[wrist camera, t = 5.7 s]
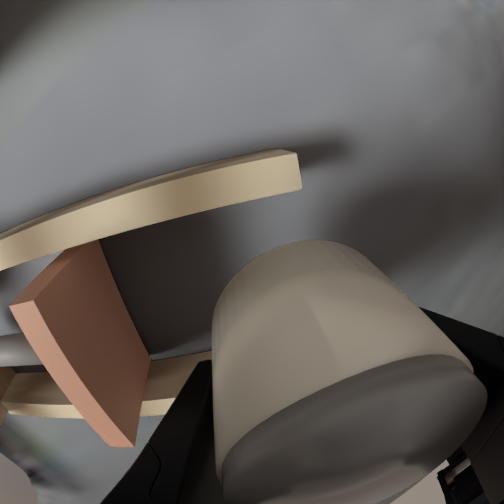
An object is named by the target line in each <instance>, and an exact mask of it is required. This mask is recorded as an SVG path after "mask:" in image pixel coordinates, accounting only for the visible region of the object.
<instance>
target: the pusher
mask: <svg viewBox="0 0 504 504" xmlns="http://www.w3.org/2000/svg"><path fill="white" fill-rule="evenodd" d="M9 308H10V309H11V311H12V313H13V315H14V317H15V319H16V321H17V322H18V324H19V326H20V328H21V330H22V331H23V333H17V334H10V335H4V336H0V367H4V366H25V365H41V364H43V365H44V366H45V368H46V369H47V371H48V372H49V374H50V375H51V376H52V378H53V379H54V381H55V382H56V383H57V385H58V386H59V387H60V389H61V390H62V391H63V393H64V394H65V395H66V397H67V398H68V399H69V400H70V402H71V403H72V404H73V405H74V407H75V408H76V409H77V410H78V411H79V413H80V414H81V415H82V416H83V417H84V419H85V420H86V421H87V422H88V423H89V424H90V425H91V427H92V428H93V429H94V430H95V431H96V432H97V433H98V434H99V435H100V436H101V437H102V439H103V440H104V441H105V442H106V443H107V444H108V445H109V446H110V447H135V441H136V435H137V429H138V423H139V417H140V412H141V406H142V401H143V395H144V390H145V385H146V380H147V375H148V371H149V366H150V361H151V358H150V356H149V354H148V352H147V350H146V348H145V346H144V344H143V342H142V340H141V338H140V336H139V334H138V332H137V330H136V328H135V326H134V324H133V322H132V320H131V318H130V315H129V313H128V311H127V309H126V307H125V304H124V302H123V300H122V298H121V295H120V293H119V291H118V288H117V286H116V284H115V281H114V279H113V276H112V274H111V271H110V269H109V266H108V264H107V261H106V258H105V256H104V253H103V251H102V248H101V245H100V242H99V240H98V239H97V240H94V241H91V242H87V243H84V244H81V245H77V246H74V247H71V248H68V249H65V250H64V251H63V252H62V253H61V254H60V255H59V256H58V257H57V258H56V259H55V260H54V261H53V262H51V263H50V264H49V265H48V266H47V267H46V268H45V269H44V270H43V271H42V272H41V273H40V274H39V275H38V276H37V277H36V278H35V279H34V280H33V281H32V282H31V283H30V284H29V285H28V286H27V287H26V288H25V289H24V290H23V291H22V293H21V294H20V295H19V296H18V297H17V298H16V299H15V300H14V301H13V302H12V303H11V304H10V305H9Z"/></svg>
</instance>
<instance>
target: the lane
mask: <svg viewBox="0 0 504 504" xmlns="http://www.w3.org/2000/svg"><path fill="white" fill-rule="evenodd" d="M297 190H302V182H301V176H300V170H299V164H298V158H297V153H294V152H290V151H286V150H282V149H278V148H277V149H272V150H267V151H261V152H256V153H251V154H247V155H242V156H237V157H233V158H228V159H224V160H219V161H215V162H211V163H206V164H202V165H198V166H194V167H190V168H186V169H183V170H179V171H175V172H171V173H168V174H164V175H160V176H157V177H153V178H150V179H147V180H143V181H140V182H136V183H133V184H130V185H127V186H123V187H120V188H117V189H114V190H111V191H108V192H105V193H102V194H99V195H96V196H93V197H90V198H87V199H85V200H82V201H79V202H76V203H73V204H71V205H68V206H65V207H63V208H60V209H57V210H55V211H52V212H50V213H47V214H45V215H42V216H40V217H37V218H35V219H32V220H30V221H27V222H25V223H23V224H20V225H18V226H16V227H13V228H11V229H9V230H7V231H4V232H2V233H0V271H1V270H4V269H7V268H10V267H13V266H15V265H18V264H21V263H24V262H27V261H30V260H33V259H36V258H39V257H42V256H45V255H49V254H52V253H55V252H58V251H61V250H64V249H68V248H71V247H74V246H77V245H81V244H84V243H87V242H91V241H94V240H97V239H101V238H104V237H108V236H111V235H115V234H118V233H122V232H125V231H129V230H132V229H136V228H140V227H143V226H147V225H151V224H155V223H158V222H162V221H166V220H170V219H174V218H178V217H182V216H186V215H190V214H194V213H198V212H202V211H206V210H210V209H214V208H219V207H223V206H227V205H232V204H236V203H240V202H245V201H249V200H254V199H258V198H263V197H268V196H272V195H277V194H282V193H287V192H292V191H297ZM209 359H211V360H212V351H207V352H202V353H197V354H191V355H186V356H180V357H174V358H168V359H161V360H155V361H150V366H149V371H148V375H147V380H146V385H145V390H144V395H143V401H142V406H141V412H140V417H141V416H154V415H165V414H166V413H167V411H168V409H169V408H170V406H171V405H172V403H173V401H174V400H175V398H176V397H177V395H178V394H179V392H180V390H181V389H182V387H183V386H184V384H185V382H186V381H187V379H188V378H189V376H190V374H191V373H192V371H193V370H194V368H195V366H196V365H197V363H198V362H199V361H203V360H209ZM7 412H9V413H10V414H16V415H26V416H38V417H54V418H84V417H83V416H82V415H81V414H80V413H79V411H78V410H77V409H76V408H75V407H74V405H73V404H72V403H71V402H70V400H69V399H68V398H67V397H66V395H65V394H64V393H63V391H62V390H61V389H60V387H59V386H58V385H57V383H56V382H55V381H54V379H53V378H52V376H51V375H50V374H49V372H36V373H16V372H15V371H14V369H13V368H12V366H4V367H0V426H1V424H2V422H3V420H4V418H5V416H6V414H7Z"/></svg>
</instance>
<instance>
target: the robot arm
mask: <svg viewBox="0 0 504 504" xmlns="http://www.w3.org/2000/svg"><path fill="white" fill-rule="evenodd" d="M419 308H420V309H421V310H422V311H423V312H424V313H425V314H426V315H427V316H428V317H429V318H430V319H431V320H432V321H433V322H434V324H435V325H436V326H437V327H438V328H439V329H440V330H441V331H442V332H443V333H444V334H445V335H446V336H447V337H448V338H449V339H450V340H451V341H452V342H453V343H454V345H455V346H456V347H457V348H458V349H459V350H460V351H461V352H462V353H463V354H464V355H465V356H466V358H467V359H468V360H469V361H470V363H471V365H472V367H473V371H474V374H475V375H476V377H477V378H478V379H479V380H480V381H481V383H482V384H483V385H484V386H485V388H486V390H487V403H486V407H485V410H484V412H483V415H482V416H481V418H480V420H479V422H478V424H477V425H476V427H475V428H474V430H473V431H472V432H471V434H470V435H469V436H468V437H467V439H466V440H465V441H464V442H463V443H462V444H461V445H460V447H459V448H458V449H457V450H456V451H455V452H454V453H453V454H452V455H450V456H449V457H448V458H447V459H446V460H447V461H448V463H449V466H447V467H446V468H445V469H443V470H441V471H439V472H438V473H437V474H438V476H437V479H438V480H439V483H440V485H441V488H442V491H443V493H444V496H445V501H446V504H504V337H502V336H499V335H498V336H497V335H496V334H494V333H491V332H488V331H485V330H482V329H480V328H477V327H474V326H471V325H468V324H466V323H463V322H460V321H457V320H454V319H452V318H449V317H446V316H443V315H440V314H437V313H435V312H432V311H429V310H426V309H423V308H421V307H419ZM148 442H149V443H147V444H146V445H145V447H144V449H143V450H142V452H141V453H140V455H139V456H138V458H137V459H136V460H135V462H134V463H133V465H132V466H131V467H130V469H129V470H128V471H127V472H126V474H125V475H124V476H123V477H122V479H121V480H120V481H119V482H118V483H117V485H116V486H115V487H114V488H113V489H112V490H111V492H110V493H109V494H108V495H107V496H106V497H105V499H104V500H103V501H102V502H101V503H100V504H224V501H223V489H222V485H221V483H220V482H219V480H218V477H217V473H216V462H215V442H214V418H213V386H212V360H211V359H209V360H203V361H199V362H198V363H197V365H196V366H195V368H194V370H193V371H192V373H191V374H190V376H189V378H188V379H187V381H186V382H185V384H184V386H183V387H182V389H181V390H180V392H179V394H178V395H177V397H176V398H175V400H174V401H173V403H172V405H171V406H170V408H169V409H168V411H167V413H166V414H165V416H164V417H163V419H162V420H161V422H160V424H159V425H158V427H157V428H156V430H155V431H154V433H153V435H152V436H151V438H150V439H149V441H148ZM469 464H470V465H469ZM468 465H469V466H468ZM467 466H468V467H467ZM464 468H465V469H464ZM463 469H464V470H463ZM461 470H463V471H461ZM460 471H461V472H460ZM459 472H460V473H459ZM458 473H459V474H458Z"/></svg>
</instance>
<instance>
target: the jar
mask: <svg viewBox="0 0 504 504" xmlns="http://www.w3.org/2000/svg"><path fill="white" fill-rule="evenodd" d="M212 386H213V418H214V442H215V462H216V473H217V477H218V480H219V482H220V483H221V485H222V489H223V501H224V504H375V503H378V502H380V501H382V500H384V499H386V498H389V497H391V496H393V495H395V494H396V493H398V492H400V491H402V490H404V489H406V488H407V487H409V486H411V485H412V484H414V483H415V482H417V481H419V480H420V479H421V478H423V477H424V476H426V475H427V474H429V473H430V472H431V471H433V470H434V469H435V468H436V467H438V466H439V465H440V464H441V463H443V462H444V461H445V460H446V459H447V458H448V457H449V456H450V455H452V454H453V453H454V452H455V451H456V450H457V449H458V448H459V447H460V445H461V444H462V443H463V442H464V441H465V440H466V439H467V437H468V436H469V435H470V434H471V432H472V431H473V430H474V428H475V427H476V425H477V424H478V422H479V420H480V418H481V416H482V415H483V412H484V410H485V407H486V403H487V390H486V388H485V386H484V385H483V384H482V383H481V381H480V380H479V379H478V378H477V377H476V375H475V374H474V371H473V367H472V365H471V363H470V361H469V360H468V359H467V358H466V356H465V355H464V354H463V353H462V352H461V351H460V350H459V349H458V348H457V347H456V346H455V345H454V343H453V342H452V341H451V340H450V339H449V338H448V337H447V336H446V335H445V334H444V333H443V332H442V331H441V330H440V329H439V328H438V327H437V326H436V325H435V324H434V322H433V321H432V320H431V319H430V318H429V317H428V316H427V315H426V314H425V313H424V312H423V311H422V310H421V309H420V308H419V307H418V306H417V305H416V304H415V303H414V302H413V301H412V300H411V299H410V298H409V297H408V296H406V295H405V294H404V293H403V292H402V291H401V290H400V289H399V288H398V287H397V286H396V285H395V284H394V283H393V282H392V281H391V280H390V279H389V278H388V277H387V276H386V275H385V274H383V273H382V272H381V271H380V270H379V269H378V268H377V267H376V266H375V265H374V264H373V263H372V262H370V261H369V260H368V259H367V258H366V257H365V256H364V255H362V254H361V253H360V252H358V251H356V250H355V249H353V248H351V247H348V246H346V245H344V244H340V243H336V242H332V241H324V240H305V241H299V242H293V243H289V244H286V245H283V246H279V247H277V248H274V249H272V250H270V251H267V252H265V253H264V254H262V255H260V256H258V257H257V258H255V259H253V260H252V261H251V262H249V263H248V264H247V265H245V266H244V267H243V268H242V269H241V270H240V271H239V272H238V273H237V274H236V275H235V276H234V277H233V278H232V279H231V280H230V281H229V283H228V284H227V285H226V287H225V288H224V290H223V292H222V293H221V295H220V297H219V299H218V301H217V304H216V306H215V309H214V313H213V318H212Z"/></svg>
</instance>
